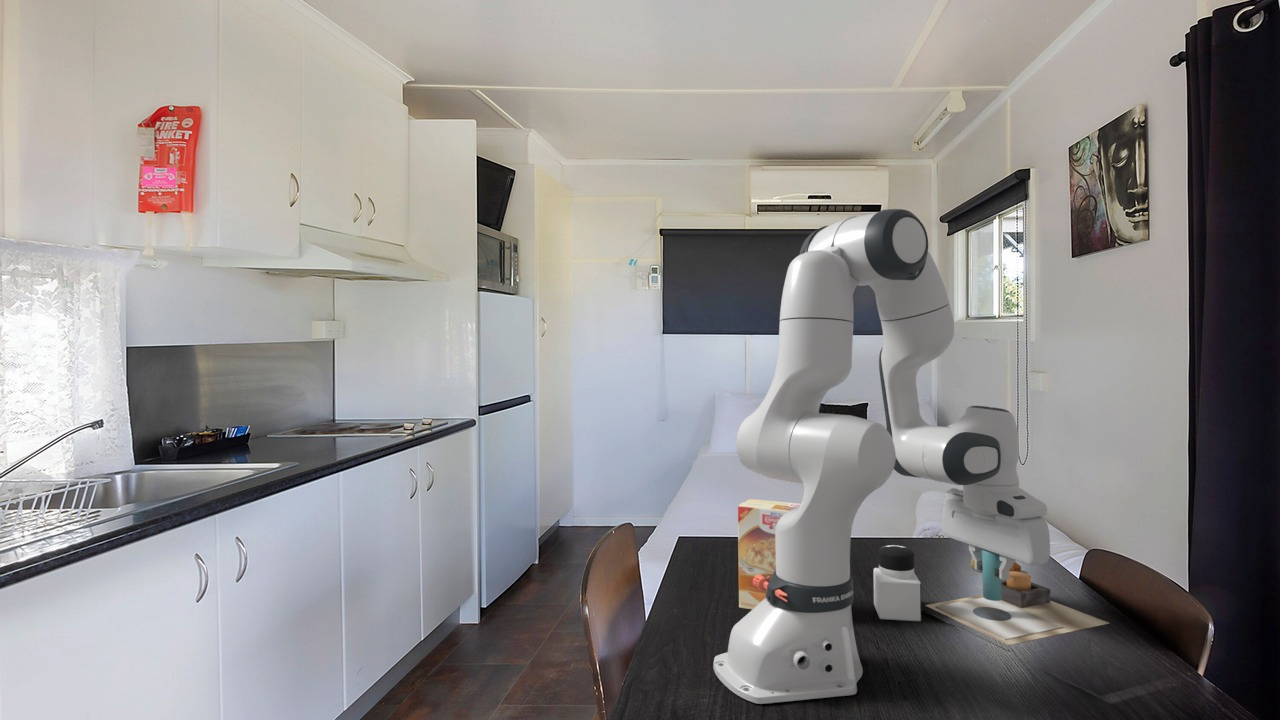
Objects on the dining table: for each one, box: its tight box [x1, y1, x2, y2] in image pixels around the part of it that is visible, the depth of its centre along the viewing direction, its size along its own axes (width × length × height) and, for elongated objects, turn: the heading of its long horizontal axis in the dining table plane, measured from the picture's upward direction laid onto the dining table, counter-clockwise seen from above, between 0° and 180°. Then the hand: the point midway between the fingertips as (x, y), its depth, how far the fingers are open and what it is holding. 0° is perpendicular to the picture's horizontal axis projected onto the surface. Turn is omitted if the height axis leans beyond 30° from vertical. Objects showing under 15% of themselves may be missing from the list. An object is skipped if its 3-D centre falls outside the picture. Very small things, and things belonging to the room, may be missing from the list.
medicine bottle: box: [873, 544, 922, 622], centre depth 122 cm, size 7×7×12 cm
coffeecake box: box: [737, 498, 801, 610], centre depth 126 cm, size 15×7×20 cm, turn 62°
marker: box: [981, 549, 1002, 601], centre depth 118 cm, size 3×3×11 cm
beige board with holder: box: [924, 580, 1110, 652], centre depth 119 cm, size 23×18×4 cm
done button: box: [1007, 571, 1032, 591], centre depth 126 cm, size 4×4×3 cm
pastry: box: [969, 556, 1022, 572], centre depth 145 cm, size 9×7×4 cm
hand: (991, 574), depth 118 cm, fingers closed on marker, 3 cm apart
